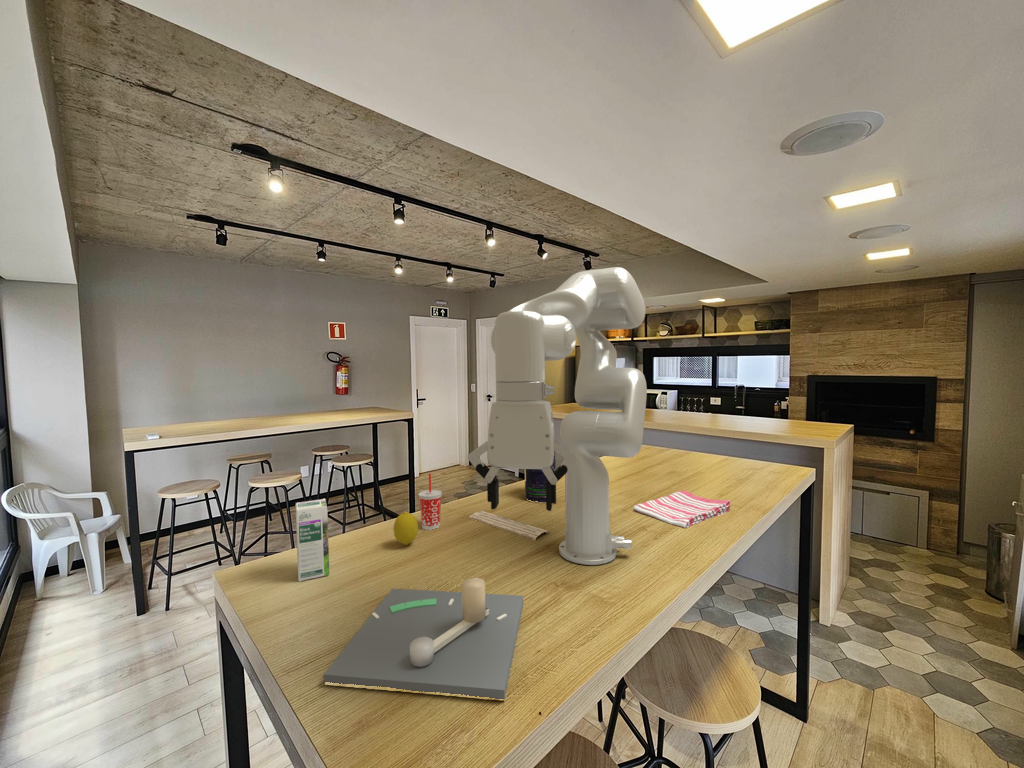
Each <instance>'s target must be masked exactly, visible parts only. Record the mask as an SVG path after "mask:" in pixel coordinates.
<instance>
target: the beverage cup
mask: <svg viewBox="0 0 1024 768" xmlns="http://www.w3.org/2000/svg"><path fill="white" fill-rule="evenodd" d="M431 475H432V474H431V473H428V488H429V489H425V490H422V491H420V492H418V499H419V505H420V506H419V509H420V519H421V529H422V530H424V529H425V530H424V531H433V530H432V529H434V530H436V529H435V528H437V529H439V528H440V527H441V508H442V507H441V505H442V496H443V492H442V490H439V489H432V477H431ZM439 526H440V527H439ZM438 527H439V528H438Z"/></svg>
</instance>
